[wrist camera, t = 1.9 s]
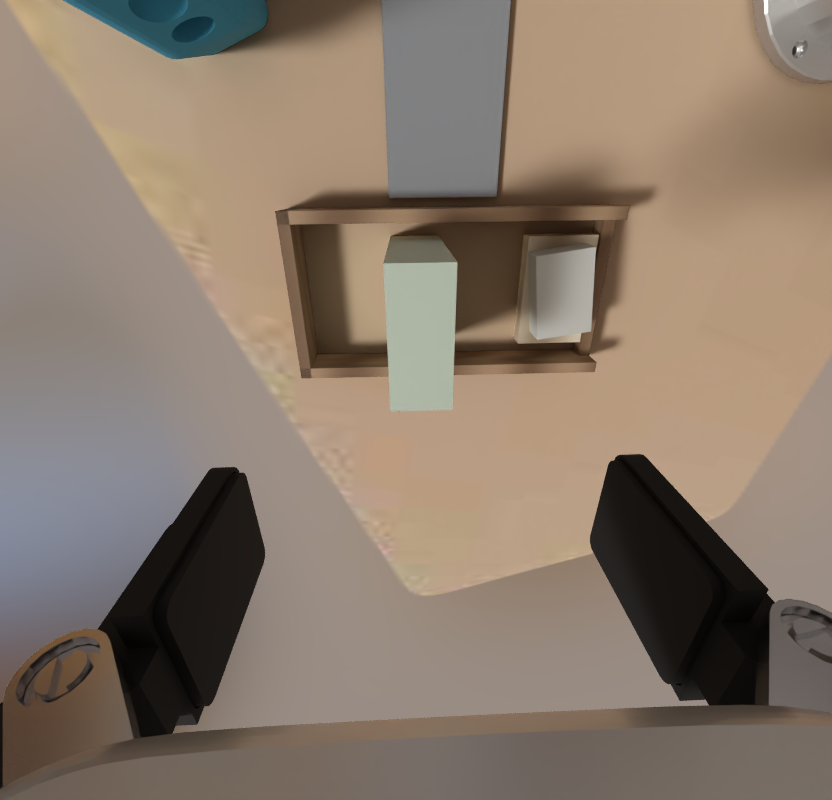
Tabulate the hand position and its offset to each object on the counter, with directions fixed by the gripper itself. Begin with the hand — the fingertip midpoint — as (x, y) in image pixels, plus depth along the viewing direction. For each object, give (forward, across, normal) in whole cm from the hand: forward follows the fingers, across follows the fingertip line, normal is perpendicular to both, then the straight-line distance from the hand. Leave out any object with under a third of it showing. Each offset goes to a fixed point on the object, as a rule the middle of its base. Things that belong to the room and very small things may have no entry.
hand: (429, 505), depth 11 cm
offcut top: (+22, -11, -1) cm, 25 cm away
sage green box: (+24, 0, 0) cm, 24 cm away
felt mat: (+24, -2, -12) cm, 27 cm away
